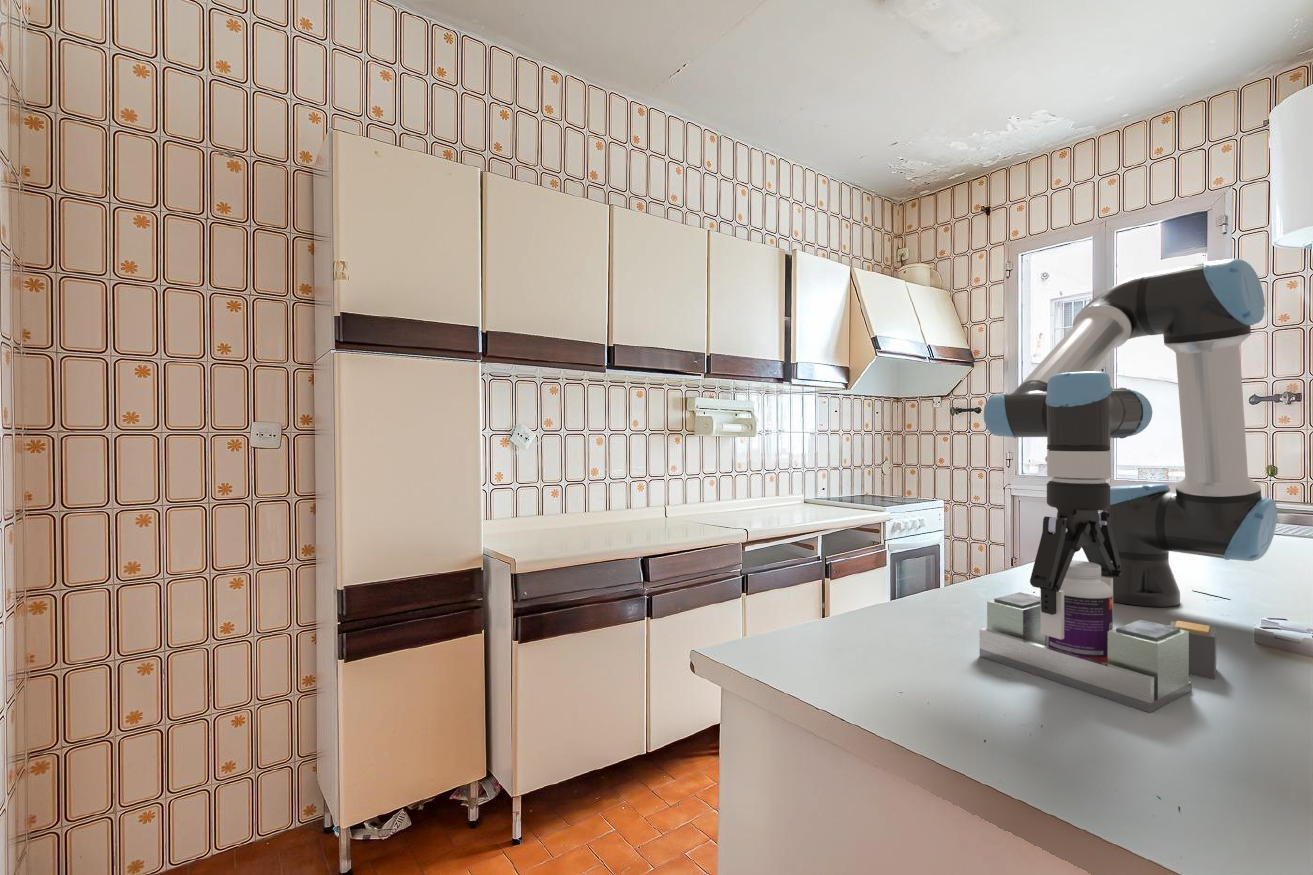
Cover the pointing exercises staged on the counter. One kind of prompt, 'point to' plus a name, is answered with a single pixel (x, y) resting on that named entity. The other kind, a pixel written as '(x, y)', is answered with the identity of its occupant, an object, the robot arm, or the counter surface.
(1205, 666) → the block
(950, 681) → the counter surface
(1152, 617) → the counter surface
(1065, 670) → the rail plate
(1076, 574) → the pill bottle
